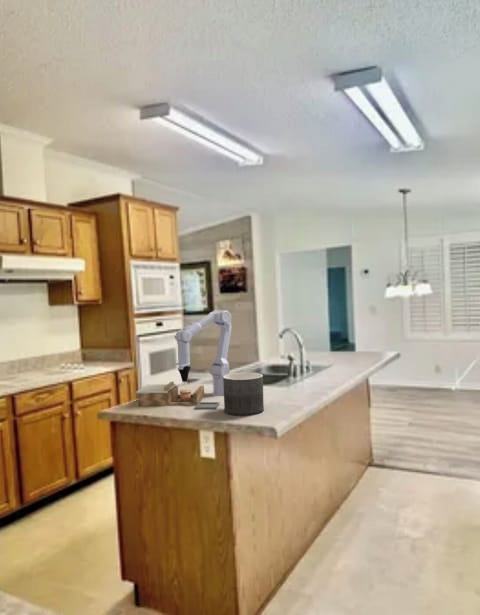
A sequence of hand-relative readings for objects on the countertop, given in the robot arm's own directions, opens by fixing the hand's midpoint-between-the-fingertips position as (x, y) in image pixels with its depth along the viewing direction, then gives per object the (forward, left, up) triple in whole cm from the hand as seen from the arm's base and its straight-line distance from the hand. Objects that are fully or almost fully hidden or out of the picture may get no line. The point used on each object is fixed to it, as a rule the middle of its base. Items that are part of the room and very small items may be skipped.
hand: (184, 381), depth 242 cm
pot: (0, 0, -10) cm, 10 cm away
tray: (-13, +12, -10) cm, 20 cm away
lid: (+15, 0, -4) cm, 15 cm away
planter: (-31, +19, -10) cm, 38 cm away
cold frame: (+7, 0, -10) cm, 12 cm away
